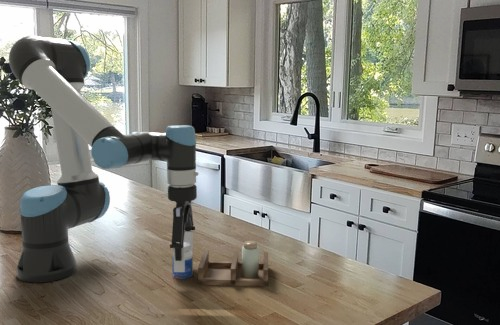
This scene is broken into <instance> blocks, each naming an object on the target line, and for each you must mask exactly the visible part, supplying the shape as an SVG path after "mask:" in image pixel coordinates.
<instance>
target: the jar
mask: <svg viewBox="0 0 500 325" xmlns="http://www.w3.org/2000/svg"><path fill="white" fill-rule="evenodd" d="M241 262H242V277H243V278H245V279H255V278H258V276H259V262H260V247H259V246H258V242H257V241H255V240H246V241H244V242H243V245H242V246H241Z"/></svg>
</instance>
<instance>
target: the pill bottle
mask: <svg viewBox="0 0 500 325" xmlns="http://www.w3.org/2000/svg"><path fill="white" fill-rule="evenodd" d="M183 245H184V251H185V272H174V257H173V256H172V264H171V265H172V275H171V276H172V280H175V279H182V280H184V279H185V280H186V279H188V278H191V277H192V276H193V269H194V268H193V267H194V266H193V265H194V264H193V263H194V261H193V259H194V256H193V255H194V252H193V253H192V252H191V251H189V250H190V243H187V242H184V244H183Z"/></svg>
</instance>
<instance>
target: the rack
mask: <svg viewBox="0 0 500 325" xmlns="http://www.w3.org/2000/svg"><path fill="white" fill-rule="evenodd" d="M209 256H210V254H209V250H204V251H203V253H202V256H201V259H200V261H199V263H198V266H197V285H199V286H200V285H203V286H204V285H205V286H207V285H208V286H232V287H233V286H237V287H239V286H241V287H269V252H268V251H267V252H266V251H264V252H263V262H262V261H261V262H260V261H259V276H258V278H255V279H245V278H243V277H242V261H239V251H233V255H232V259H231V260H232V261H227V260H225V261H224V260H210V258H209Z"/></svg>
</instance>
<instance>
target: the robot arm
mask: <svg viewBox="0 0 500 325" xmlns="http://www.w3.org/2000/svg"><path fill="white" fill-rule="evenodd" d="M8 63H9V64H8V65H9V67H10V70H11V72H12V74H13V75H14V77H15V78H16V79H17V81H18V82H20V84H22V86H24V88H26V89H28V90H32V91H34V92H35V93H36V94H37V95H38V96H39V97H40V98H41V99H42V100H43V101H44V102H46V104H47V105H48V106H50V108H51V115H52V122H53V128H54V134H55V141H56V147H57V154H58V159H59V160H58V161H59V165H60V172H61V176H60V177H59V179H58V180H57V182H56V183H57V184H47V185H44V186H36V187H34V188H31V189H28V190H26V191H25V192H24V193H23V194H22V195H21V196H20V200H19V203H20V204H19V205H20V206H19V213H20V224H21V242H22V244H21V245H22V249H21V252H20V255H19V258H18V263H17V265H16V277H17V278H18V279H19V280H20V281H23V282H26V283H48V282H54V281H58V280H62V279H64V278H67V277H70V276H71V275H72V274H74V273H75V272H76V271H77V260H76V258H75V255H74V252H73V251H72V248H71V246H70V243H69V242H70V241H69V230H70V229H73V228H76V227H78V226H82V225H84V224H87V223H93V222H94V221H96V220H98V219H100V218H102V217H104V215H106V213H107V211H108V209H109V207H110V202H111V197H110V196H111V195H110V192H109V189H108V187H106V185H105V184H104V183H103V182H102V181H100V178H99V175H98V174H97V173H95V171H93V167H92V160H91V157H92V159H93V162H94V163H95V165H97V166H98V167H99V168H101V169H105V170H108V169H109V170H110V169H118V168H122V167H125V166H129V165H133V164H135V165H136V164H139V163H144V162H149V161H158V162H160V161H161V162H166V178H167V180H166V183H167V184H168V186H167V199H168V200H169V201H170V202H174V203H176V204H175V207H173V209H172V215H173V216H172V217H173V218H172V232H171V234H172V236H171V244H169V248H170V249H172V250H173V253H172V258H173V257H174V272H185V251H184V245H183V244H184V242H187V243H190V250H189V251H191V252H192V253H193V254H194V245H193V243H194V240H193V234H194V233H193V232H194V231H196V226H194V225H195V224H194V217H193V209H192V201H193V202H194V201H195V200H196V199H197V198H198V195H197V193H198V192H197V191H198V190H197V185H196V183H197V176H199V175H200V174H199V172H198V171H197V154H196V153H197V152H196V151H197V140H196V129H195V127H194V126H192V125H187V124H185V125H184V124H182V125H178V124H175V125H168V126H166V129H165V132H154V131H144V130H142V131H133V132H131V133H129V134H123V133H122V132H121V131H120V130H119V129H117V128H116V127H115V126H114V125H113V124H112V123H111V122H110V121H109V120H108V119H107V118H106V117H105V116H104V115H103V114H102V113H101V112H100V111H99V110H97V108H96V107H95V106H94V105H93V104H91V102H89V100H87V99H86V98H85V97H84V96H83V95H82V94H81V90H82V88H83V87H84V86H85V84H86V83H85V78H87V76H88V74H89V71H90V70H91V61H90V57H89V53H88V52H87V50H86V49H85V47H84V46H82V45H81V44H80V43H78V42H77V41H75V40H69V39H66V38H55V37H46V36H39V35H28V36H25V37H22V38H20V39H18V40H17V41H16V42H14V43H13V45H12V47H11V49H10V50H9V56H8ZM89 147H91V151H90V148H89ZM90 152H91V153H90Z"/></svg>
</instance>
